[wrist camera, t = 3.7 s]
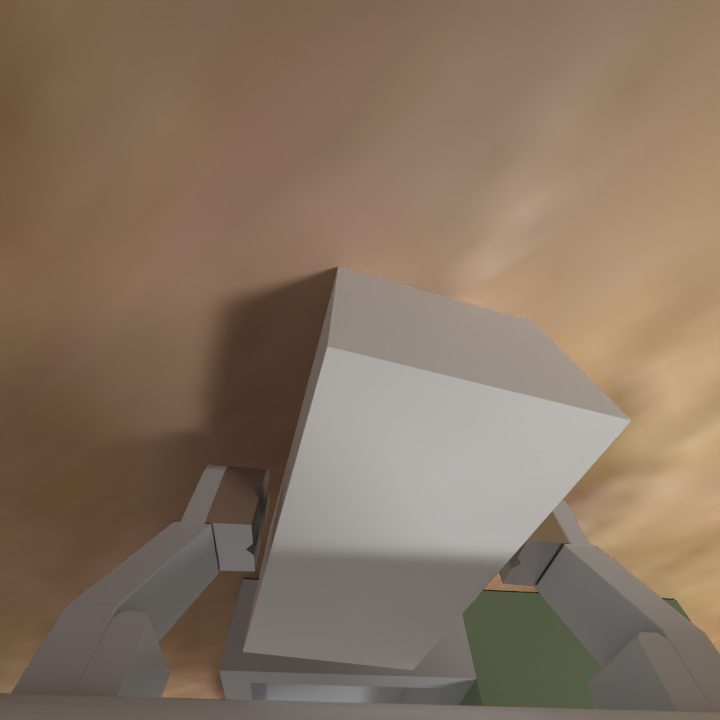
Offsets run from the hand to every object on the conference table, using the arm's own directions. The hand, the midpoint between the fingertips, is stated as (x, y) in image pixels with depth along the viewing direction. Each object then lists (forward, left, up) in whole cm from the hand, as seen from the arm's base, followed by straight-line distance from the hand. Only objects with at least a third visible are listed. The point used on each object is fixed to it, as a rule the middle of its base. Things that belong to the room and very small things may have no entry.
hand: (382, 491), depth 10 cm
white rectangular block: (0, 0, -2) cm, 2 cm away
